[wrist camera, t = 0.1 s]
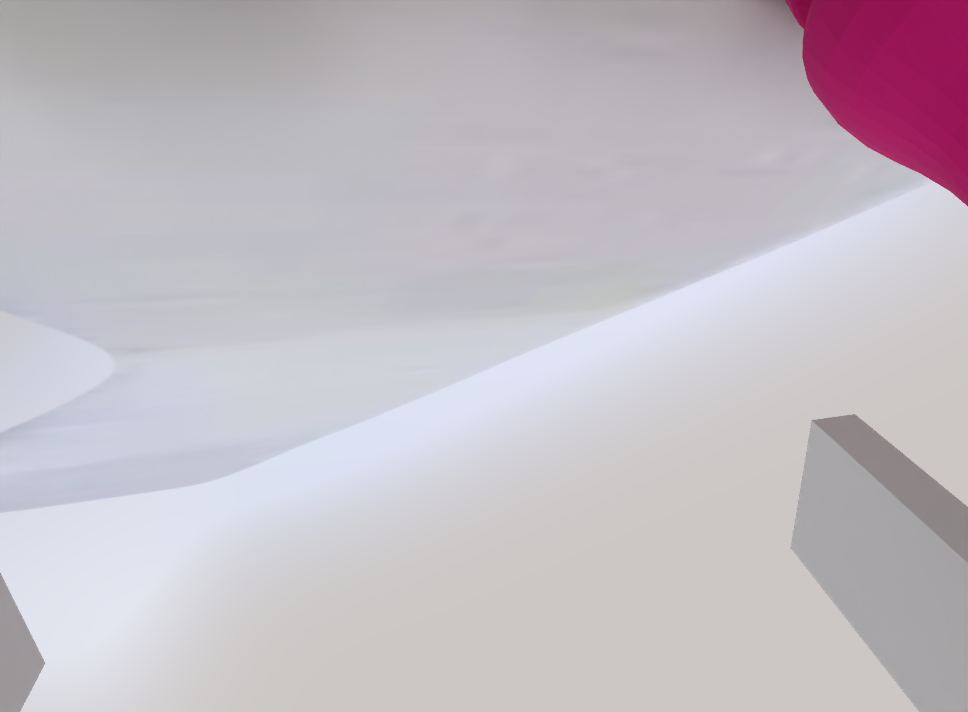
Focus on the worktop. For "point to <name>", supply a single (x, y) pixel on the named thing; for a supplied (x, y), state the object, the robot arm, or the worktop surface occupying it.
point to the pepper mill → (894, 78)
